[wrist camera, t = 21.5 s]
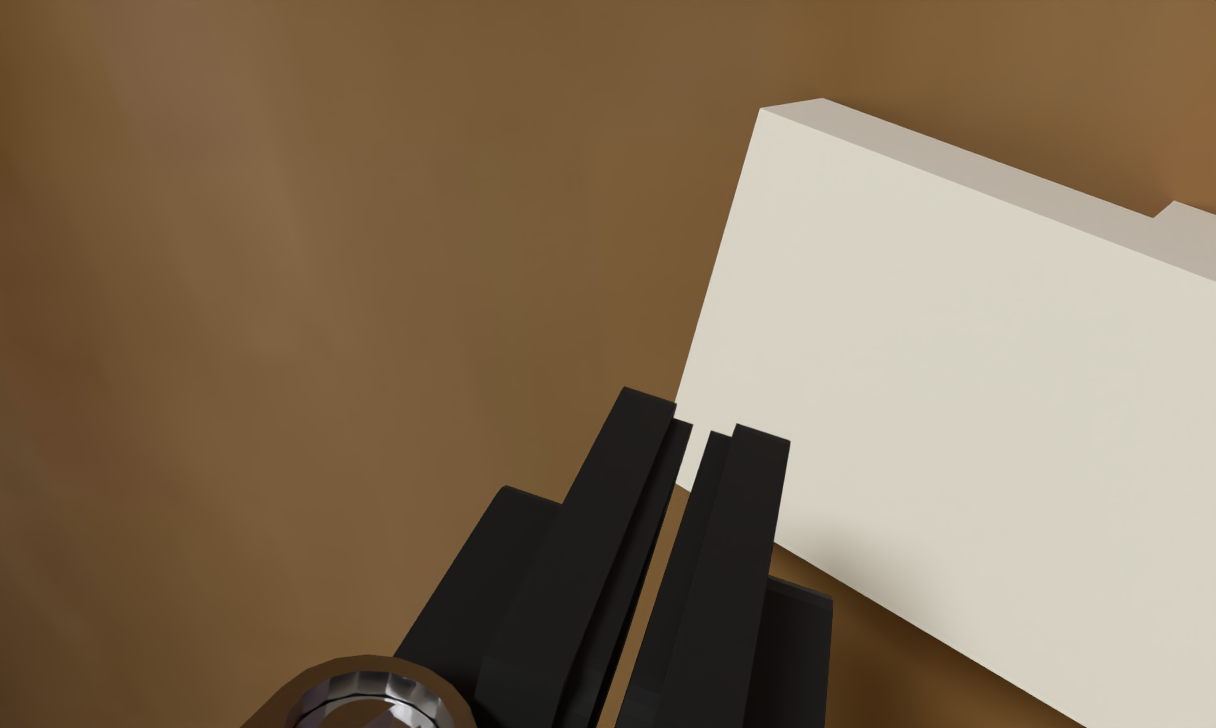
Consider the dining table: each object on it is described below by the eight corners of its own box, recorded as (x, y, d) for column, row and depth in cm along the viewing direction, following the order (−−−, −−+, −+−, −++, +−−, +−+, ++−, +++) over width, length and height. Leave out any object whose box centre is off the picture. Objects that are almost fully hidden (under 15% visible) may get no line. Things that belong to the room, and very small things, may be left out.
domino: (655, 471, 17) (1428, 931, 12) (760, 107, 14) (1824, 514, 9) (717, 432, 18) (1425, 826, 13) (822, 98, 16) (1763, 441, 11)
